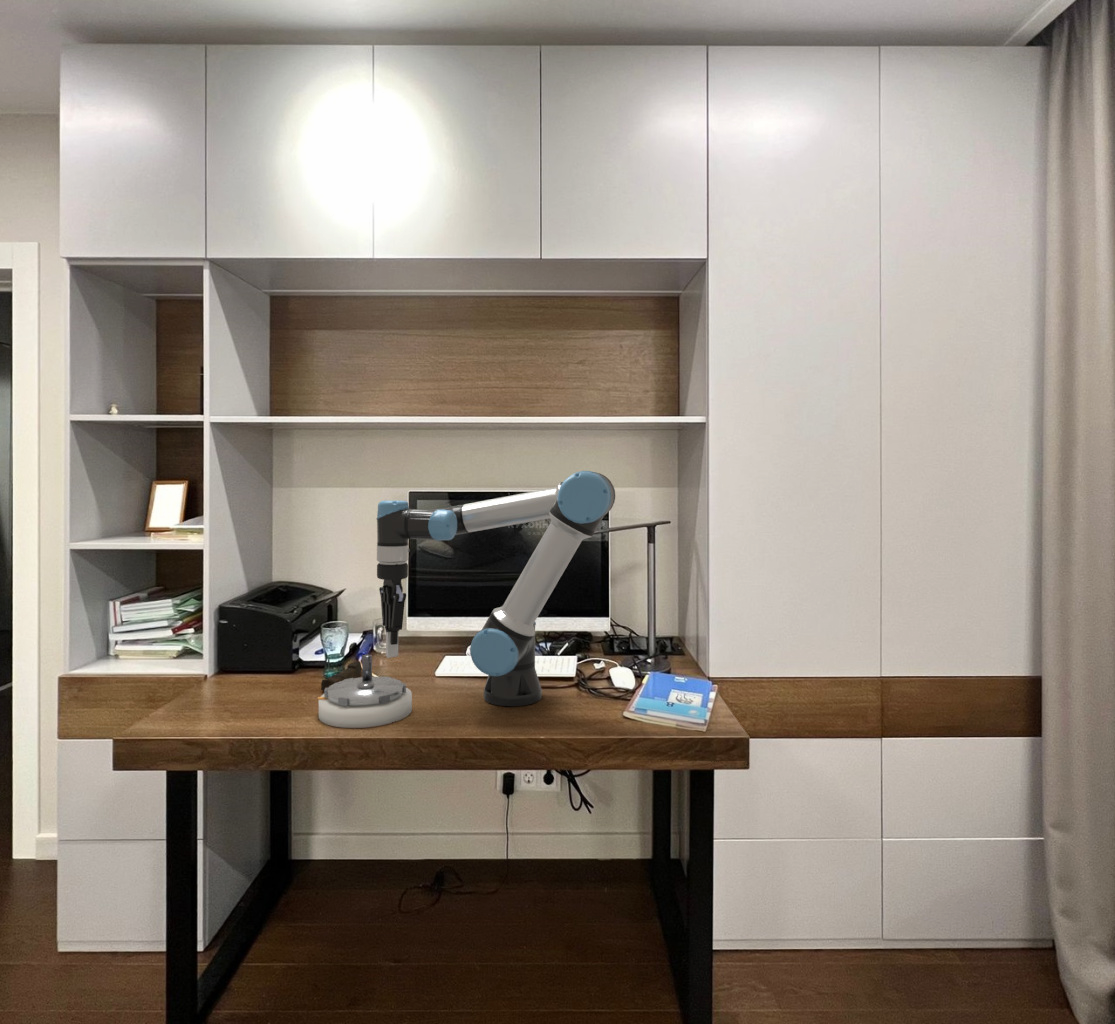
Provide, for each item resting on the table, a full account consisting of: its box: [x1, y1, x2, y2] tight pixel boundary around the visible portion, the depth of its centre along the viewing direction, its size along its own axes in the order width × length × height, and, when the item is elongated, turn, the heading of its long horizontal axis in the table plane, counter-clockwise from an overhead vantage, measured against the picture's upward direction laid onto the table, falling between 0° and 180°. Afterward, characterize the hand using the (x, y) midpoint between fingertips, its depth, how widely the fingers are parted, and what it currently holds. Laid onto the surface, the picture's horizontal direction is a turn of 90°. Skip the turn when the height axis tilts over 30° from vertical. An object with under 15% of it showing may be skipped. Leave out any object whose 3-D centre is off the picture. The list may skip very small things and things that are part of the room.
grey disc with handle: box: [323, 654, 407, 707], centre depth 173 cm, size 18×19×8 cm
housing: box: [317, 687, 413, 729], centre depth 173 cm, size 22×22×4 cm
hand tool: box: [320, 660, 362, 693], centre depth 198 cm, size 19×4×5 cm, turn 166°
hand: (392, 656), depth 176 cm, fingers closed
